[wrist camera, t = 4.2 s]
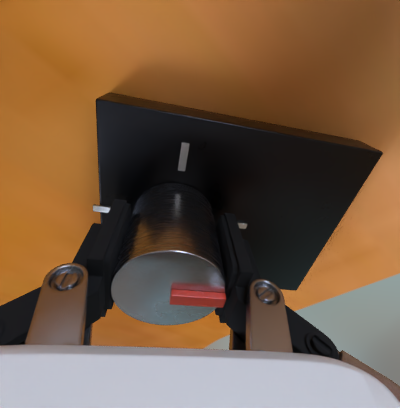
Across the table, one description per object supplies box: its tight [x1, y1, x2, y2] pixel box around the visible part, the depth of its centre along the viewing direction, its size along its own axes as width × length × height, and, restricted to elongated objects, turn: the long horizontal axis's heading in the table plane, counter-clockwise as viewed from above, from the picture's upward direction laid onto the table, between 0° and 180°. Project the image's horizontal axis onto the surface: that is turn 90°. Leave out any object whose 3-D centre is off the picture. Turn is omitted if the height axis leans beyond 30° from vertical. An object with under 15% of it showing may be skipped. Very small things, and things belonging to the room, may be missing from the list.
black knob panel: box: [93, 93, 383, 290], centre depth 14 cm, size 14×11×2 cm
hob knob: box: [110, 182, 226, 325], centre depth 11 cm, size 4×4×5 cm
